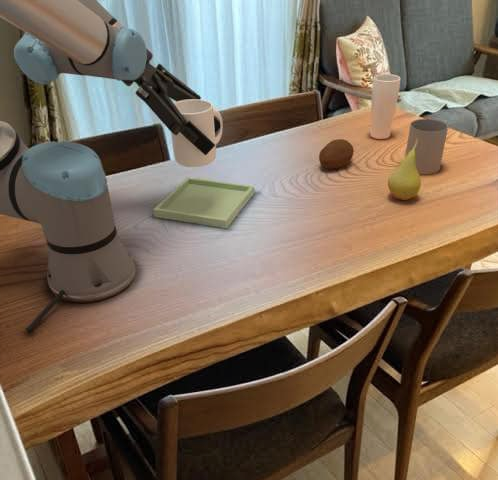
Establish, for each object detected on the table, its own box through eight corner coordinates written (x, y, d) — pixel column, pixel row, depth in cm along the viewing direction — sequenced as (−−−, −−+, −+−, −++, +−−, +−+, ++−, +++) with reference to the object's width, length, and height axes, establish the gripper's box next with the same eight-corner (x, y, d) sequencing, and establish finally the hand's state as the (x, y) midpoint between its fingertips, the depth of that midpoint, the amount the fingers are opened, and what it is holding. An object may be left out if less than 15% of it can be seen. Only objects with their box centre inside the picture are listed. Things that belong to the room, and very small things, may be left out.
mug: (237, 154, 112) (235, 101, 105) (192, 172, 106) (186, 117, 99) (211, 143, 117) (207, 92, 110) (166, 159, 111) (159, 106, 104)
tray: (226, 228, 110) (225, 220, 108) (154, 216, 114) (153, 209, 113) (254, 193, 121) (254, 185, 120) (188, 184, 126) (187, 176, 125)
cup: (413, 157, 134) (420, 116, 127) (445, 165, 130) (454, 123, 123) (397, 168, 129) (403, 127, 123) (430, 177, 125) (438, 134, 118)
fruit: (381, 200, 117) (389, 146, 109) (393, 187, 122) (401, 134, 114) (412, 207, 114) (421, 152, 106) (422, 193, 119) (432, 139, 111)
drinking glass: (396, 134, 146) (404, 75, 136) (387, 142, 142) (395, 82, 132) (372, 130, 149) (379, 72, 139) (363, 138, 144) (369, 79, 135)
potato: (311, 168, 131) (312, 142, 127) (337, 156, 136) (339, 131, 132) (332, 175, 127) (333, 150, 123) (358, 163, 132) (360, 138, 128)
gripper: (129, 55, 111) (211, 131, 119) (94, 90, 93) (192, 176, 102) (150, 26, 107) (233, 107, 115) (118, 56, 89) (218, 148, 98)
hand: (214, 139), depth 108 cm, fingers closed on mug, 10 cm apart
